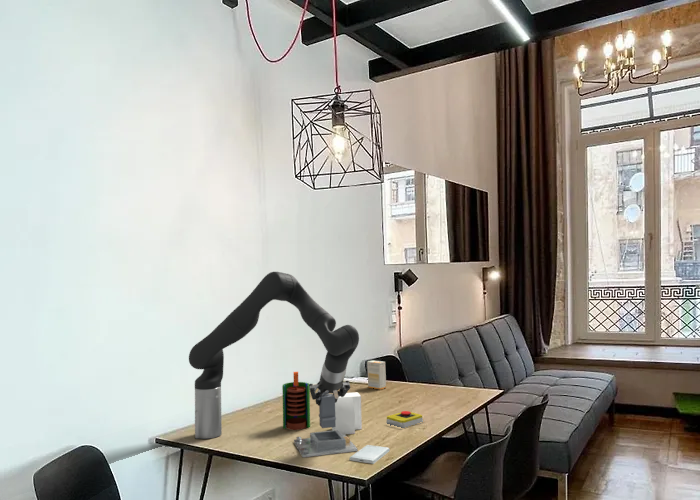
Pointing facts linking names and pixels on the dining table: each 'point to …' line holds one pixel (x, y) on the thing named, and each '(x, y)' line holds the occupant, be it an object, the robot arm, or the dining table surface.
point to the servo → (327, 411)
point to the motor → (296, 404)
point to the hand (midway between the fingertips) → (325, 402)
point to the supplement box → (376, 374)
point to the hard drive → (369, 454)
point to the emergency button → (404, 419)
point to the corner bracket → (348, 413)
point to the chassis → (324, 444)
